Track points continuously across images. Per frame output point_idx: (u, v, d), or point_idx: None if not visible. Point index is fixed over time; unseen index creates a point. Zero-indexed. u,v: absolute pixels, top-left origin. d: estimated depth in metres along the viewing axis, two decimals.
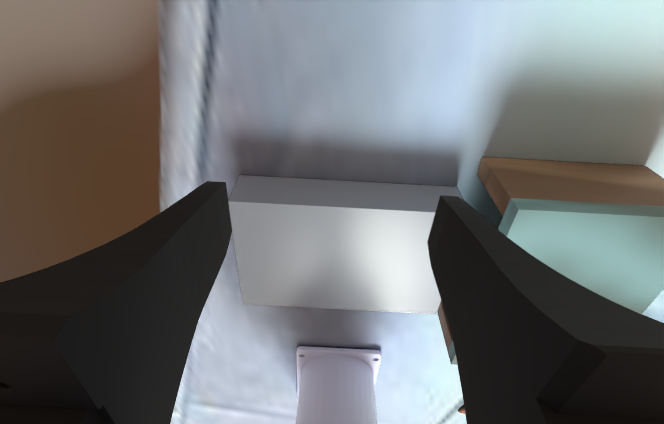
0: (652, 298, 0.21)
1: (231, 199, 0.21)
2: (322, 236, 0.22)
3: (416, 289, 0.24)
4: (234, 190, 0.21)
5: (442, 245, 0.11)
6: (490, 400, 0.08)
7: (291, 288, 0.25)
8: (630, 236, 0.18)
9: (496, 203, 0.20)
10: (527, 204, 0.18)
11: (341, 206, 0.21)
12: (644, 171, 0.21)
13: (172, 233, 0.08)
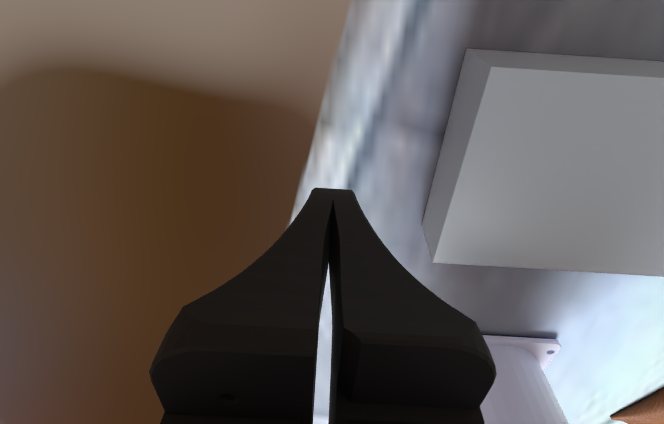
0: None
1: (495, 65, 0.12)
2: (619, 138, 0.13)
3: None
4: (483, 59, 0.13)
5: (331, 239, 0.11)
6: (332, 391, 0.08)
7: (520, 235, 0.16)
8: None
9: None
10: None
11: None
12: None
13: (320, 242, 0.08)
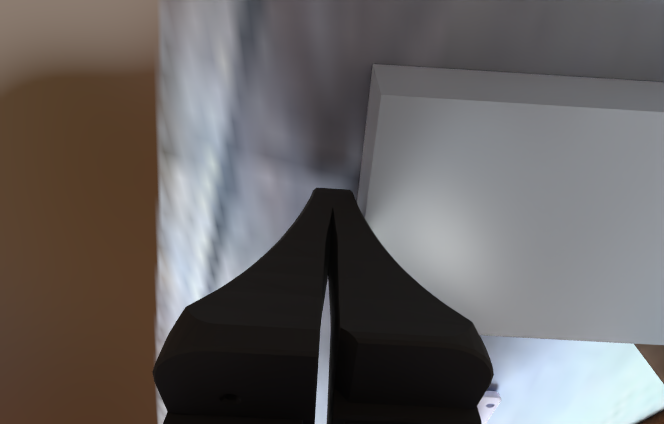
0: None
1: (388, 92, 0.09)
2: (568, 187, 0.10)
3: None
4: (381, 81, 0.09)
5: None
6: (330, 391, 0.08)
7: (453, 299, 0.13)
8: None
9: None
10: None
11: None
12: None
13: (322, 242, 0.08)
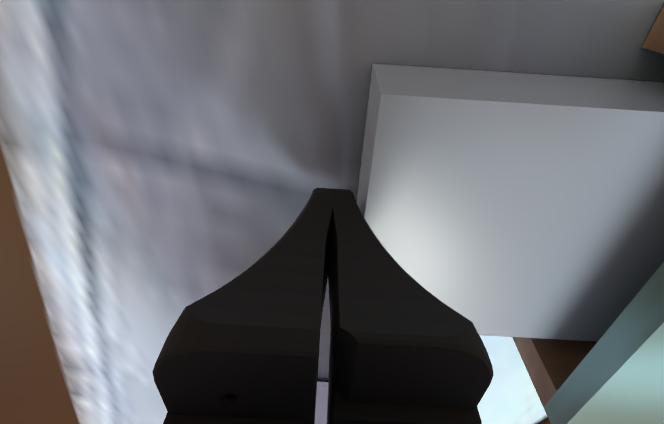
0: None
1: (387, 91, 0.09)
2: (568, 187, 0.10)
3: None
4: (381, 80, 0.09)
5: None
6: None
7: (453, 299, 0.13)
8: None
9: None
10: None
11: None
12: None
13: (322, 242, 0.08)
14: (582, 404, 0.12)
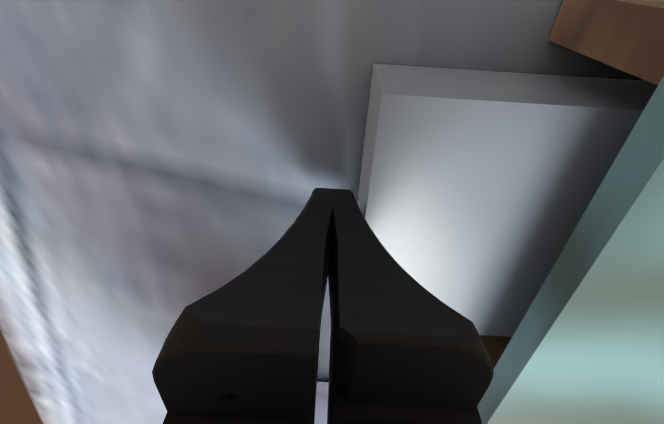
0: None
1: (388, 91, 0.09)
2: (569, 186, 0.10)
3: None
4: (382, 80, 0.09)
5: (329, 238, 0.11)
6: (330, 391, 0.08)
7: (454, 299, 0.13)
8: None
9: (624, 65, 0.08)
10: None
11: None
12: None
13: (322, 242, 0.08)
14: (501, 399, 0.12)
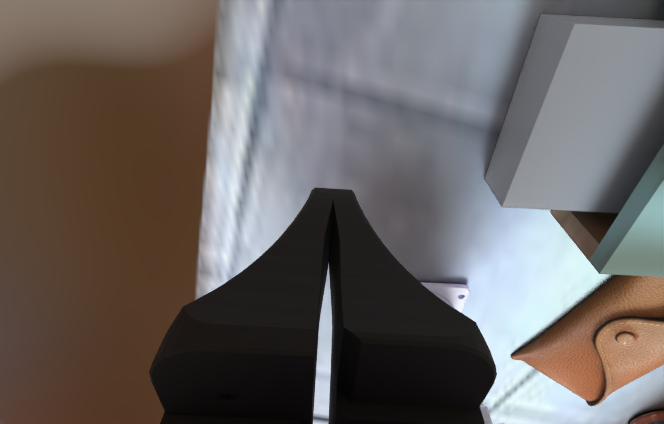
0: None
1: (576, 22, 0.14)
2: None
3: None
4: (562, 19, 0.15)
5: (331, 238, 0.11)
6: (332, 391, 0.08)
7: (582, 179, 0.18)
8: None
9: None
10: None
11: None
12: None
13: (320, 242, 0.08)
14: (619, 242, 0.18)
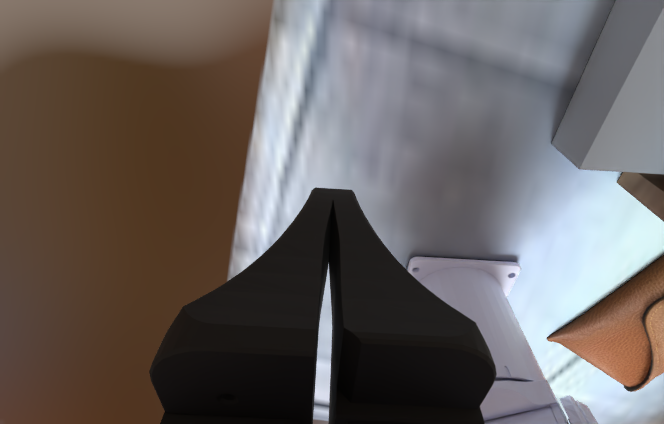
0: None
1: None
2: None
3: None
4: None
5: (331, 239, 0.11)
6: (332, 391, 0.08)
7: None
8: None
9: None
10: None
11: None
12: None
13: (320, 242, 0.08)
14: None
